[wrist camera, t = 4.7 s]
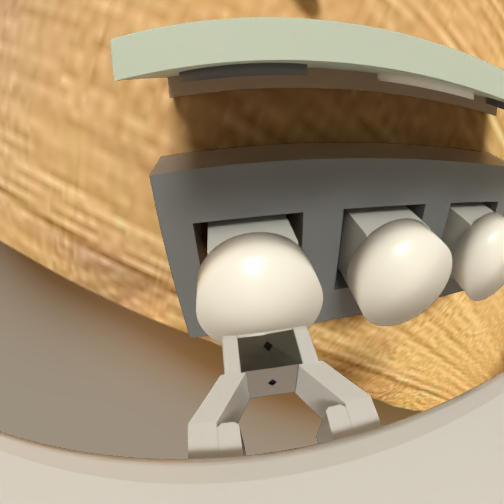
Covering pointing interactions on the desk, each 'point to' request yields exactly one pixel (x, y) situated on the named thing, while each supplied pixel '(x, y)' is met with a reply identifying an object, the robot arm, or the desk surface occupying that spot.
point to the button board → (311, 200)
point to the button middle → (392, 263)
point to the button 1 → (255, 279)
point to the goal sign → (305, 60)
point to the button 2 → (475, 248)
